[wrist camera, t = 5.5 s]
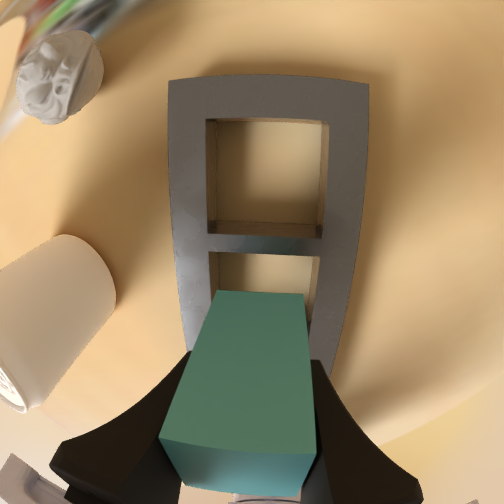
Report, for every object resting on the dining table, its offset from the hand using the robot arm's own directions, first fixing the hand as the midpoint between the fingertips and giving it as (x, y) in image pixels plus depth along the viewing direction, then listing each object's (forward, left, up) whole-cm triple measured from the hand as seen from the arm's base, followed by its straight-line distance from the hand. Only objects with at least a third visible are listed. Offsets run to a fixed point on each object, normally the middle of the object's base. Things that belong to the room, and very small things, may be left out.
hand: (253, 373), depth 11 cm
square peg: (0, 0, -3) cm, 3 cm away
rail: (0, 0, -8) cm, 8 cm away
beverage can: (-1, +15, -8) cm, 17 cm away
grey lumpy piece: (+14, +12, -8) cm, 20 cm away
